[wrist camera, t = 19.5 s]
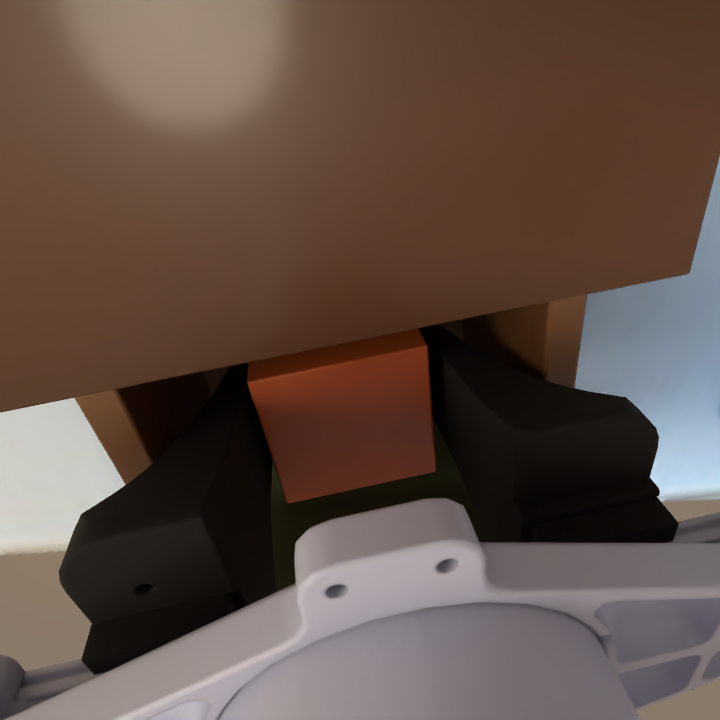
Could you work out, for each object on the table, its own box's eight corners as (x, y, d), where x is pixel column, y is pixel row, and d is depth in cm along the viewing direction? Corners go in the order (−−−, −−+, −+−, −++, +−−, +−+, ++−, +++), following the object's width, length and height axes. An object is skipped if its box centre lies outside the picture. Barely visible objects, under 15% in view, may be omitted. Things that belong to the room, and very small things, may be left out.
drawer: (488, 502, 23) (558, 650, 18) (249, 556, 23) (244, 726, 17) (495, 60, 13) (660, 84, 8) (65, 134, 13) (-90, 218, 7)
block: (390, 271, 15) (428, 345, 11) (403, 383, 17) (437, 472, 14) (250, 299, 15) (246, 382, 11) (282, 408, 17) (286, 505, 14)
